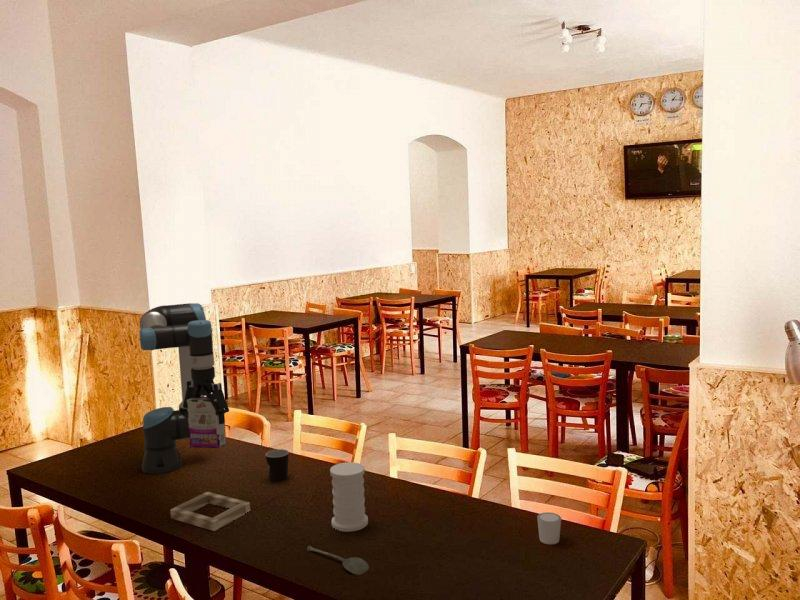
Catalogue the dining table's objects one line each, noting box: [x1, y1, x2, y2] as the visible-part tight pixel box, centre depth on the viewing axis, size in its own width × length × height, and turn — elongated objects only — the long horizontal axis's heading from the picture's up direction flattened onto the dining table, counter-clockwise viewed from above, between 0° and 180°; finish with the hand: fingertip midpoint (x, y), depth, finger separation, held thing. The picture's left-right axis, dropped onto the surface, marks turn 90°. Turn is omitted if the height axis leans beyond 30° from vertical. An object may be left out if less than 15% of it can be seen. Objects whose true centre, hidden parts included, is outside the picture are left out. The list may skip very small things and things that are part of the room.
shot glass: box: [536, 512, 562, 545], centre depth 193 cm, size 7×7×7 cm
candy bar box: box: [187, 396, 227, 449], centre depth 220 cm, size 11×5×16 cm, turn 77°
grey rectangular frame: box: [169, 491, 251, 532], centre depth 218 cm, size 20×16×3 cm
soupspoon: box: [306, 545, 370, 576], centre depth 186 cm, size 22×3×7 cm
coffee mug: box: [264, 448, 290, 483], centre depth 248 cm, size 12×9×10 cm
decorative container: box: [329, 461, 369, 533], centre depth 208 cm, size 12×12×18 cm
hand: (207, 431), depth 220 cm, fingers closed on candy bar box, 12 cm apart
